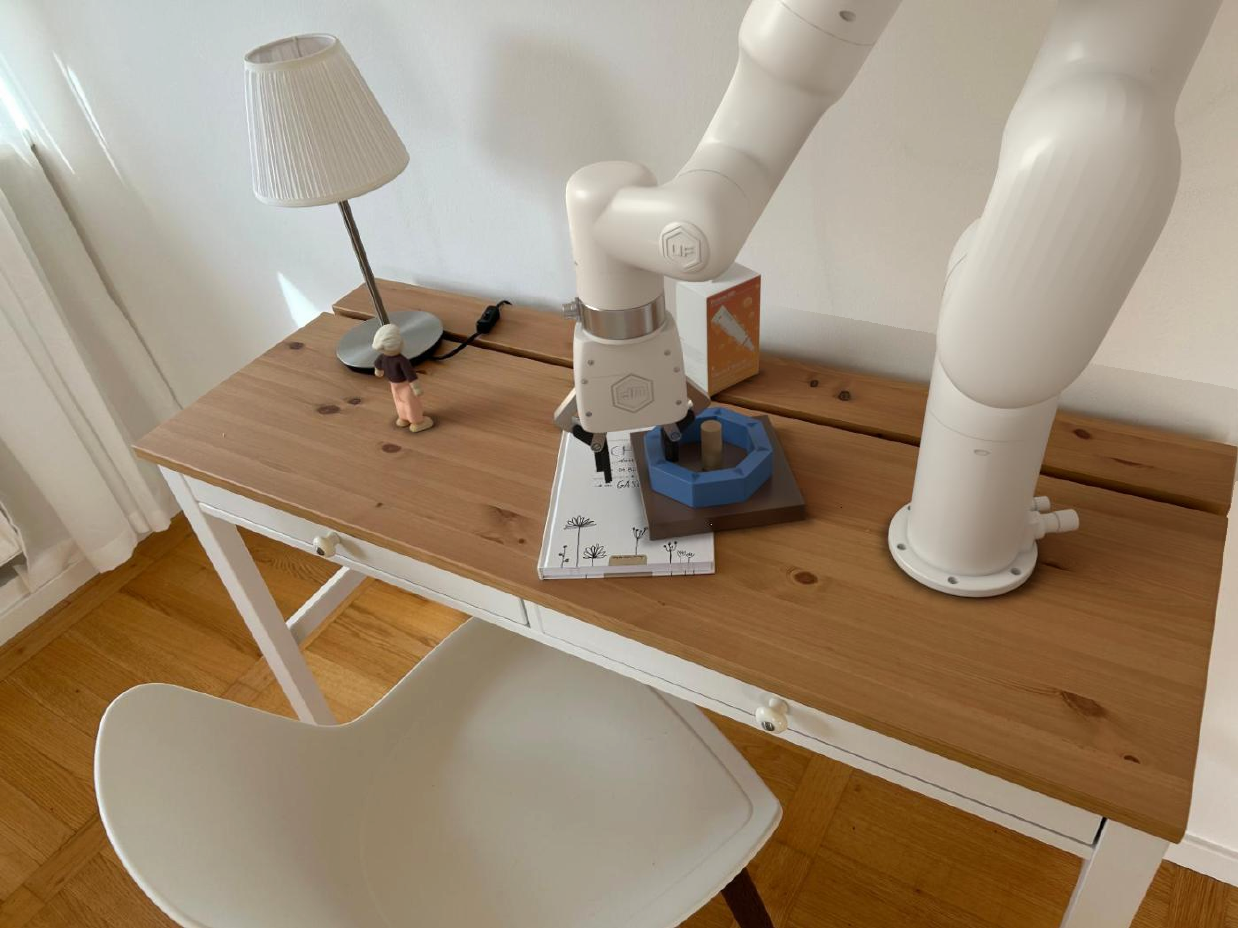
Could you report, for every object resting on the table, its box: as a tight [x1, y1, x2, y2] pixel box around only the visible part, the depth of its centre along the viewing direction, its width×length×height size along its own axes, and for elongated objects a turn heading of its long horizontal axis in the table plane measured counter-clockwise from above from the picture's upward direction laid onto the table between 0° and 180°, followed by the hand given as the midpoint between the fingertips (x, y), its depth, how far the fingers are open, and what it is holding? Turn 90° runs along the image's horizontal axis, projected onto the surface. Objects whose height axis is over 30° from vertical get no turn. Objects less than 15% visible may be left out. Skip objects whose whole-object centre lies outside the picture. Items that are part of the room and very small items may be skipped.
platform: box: [629, 414, 807, 542], centre depth 90 cm, size 15×15×7 cm
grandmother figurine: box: [371, 323, 434, 433], centre depth 101 cm, size 8×4×13 cm, turn 62°
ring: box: [644, 406, 773, 508], centre depth 90 cm, size 12×12×3 cm
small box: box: [676, 261, 762, 398], centre depth 103 cm, size 8×6×13 cm
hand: (637, 469), depth 90 cm, fingers open, 5 cm apart
